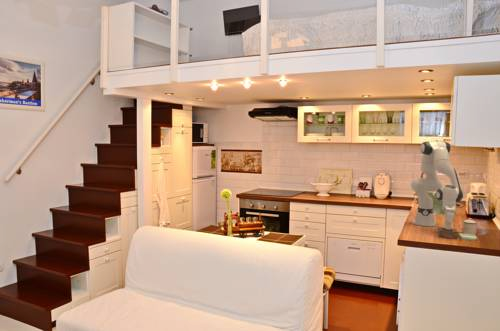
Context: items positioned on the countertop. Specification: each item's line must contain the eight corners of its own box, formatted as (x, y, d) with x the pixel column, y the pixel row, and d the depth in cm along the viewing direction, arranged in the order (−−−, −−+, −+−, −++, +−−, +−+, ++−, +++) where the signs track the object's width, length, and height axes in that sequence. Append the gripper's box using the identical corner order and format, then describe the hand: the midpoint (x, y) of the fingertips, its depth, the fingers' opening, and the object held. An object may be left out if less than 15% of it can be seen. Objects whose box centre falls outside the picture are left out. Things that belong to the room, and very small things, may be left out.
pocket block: (437, 233, 290) (438, 227, 290) (455, 235, 286) (456, 228, 286) (439, 237, 279) (439, 230, 279) (457, 239, 275) (458, 232, 274)
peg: (443, 235, 285) (444, 220, 285) (450, 235, 284) (451, 221, 283) (444, 236, 281) (445, 221, 281) (451, 237, 280) (452, 222, 279)
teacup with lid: (474, 232, 296) (475, 217, 295) (477, 235, 287) (478, 220, 286) (457, 231, 300) (458, 216, 299) (459, 233, 291) (460, 218, 291)
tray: (458, 235, 285) (458, 233, 285) (474, 237, 281) (474, 234, 281) (460, 239, 274) (461, 236, 274) (477, 241, 270) (477, 238, 270)
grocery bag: (453, 213, 377) (455, 189, 376) (456, 215, 364) (457, 191, 362) (418, 210, 387) (419, 188, 386) (419, 213, 374) (421, 189, 373)
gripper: (443, 204, 292) (442, 222, 293) (445, 209, 273) (444, 228, 274) (452, 205, 290) (451, 223, 290) (455, 210, 271) (454, 229, 272)
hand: (448, 226), depth 282 cm, fingers closed on peg, 4 cm apart
